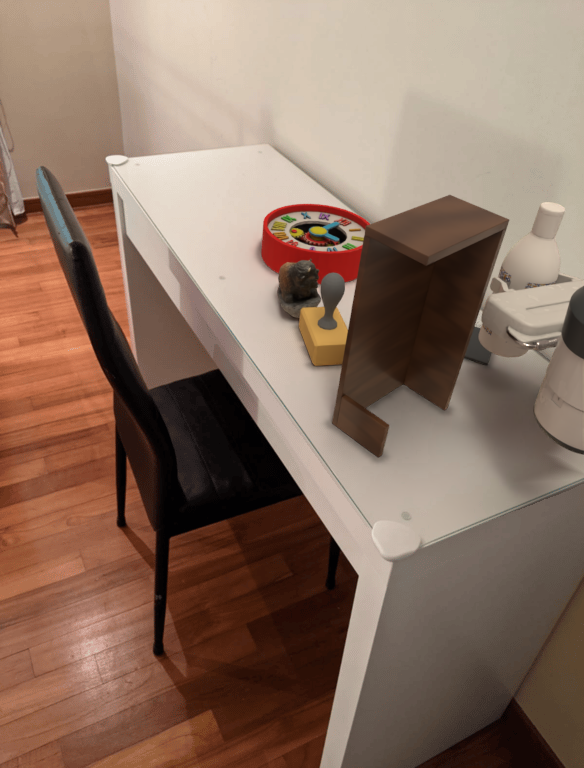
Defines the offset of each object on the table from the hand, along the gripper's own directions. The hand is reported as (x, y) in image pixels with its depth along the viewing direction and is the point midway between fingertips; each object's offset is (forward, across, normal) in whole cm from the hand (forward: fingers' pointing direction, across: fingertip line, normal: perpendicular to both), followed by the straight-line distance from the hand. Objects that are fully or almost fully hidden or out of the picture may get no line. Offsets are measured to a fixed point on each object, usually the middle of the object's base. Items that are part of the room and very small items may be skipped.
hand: (521, 277), depth 79 cm
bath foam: (-1, 0, -10) cm, 10 cm away
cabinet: (-4, -18, -16) cm, 25 cm away
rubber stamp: (+13, -20, -16) cm, 29 cm away
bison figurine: (+24, -20, -16) cm, 35 cm away
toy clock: (+39, -10, -16) cm, 43 cm away
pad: (+8, +1, -16) cm, 18 cm away
